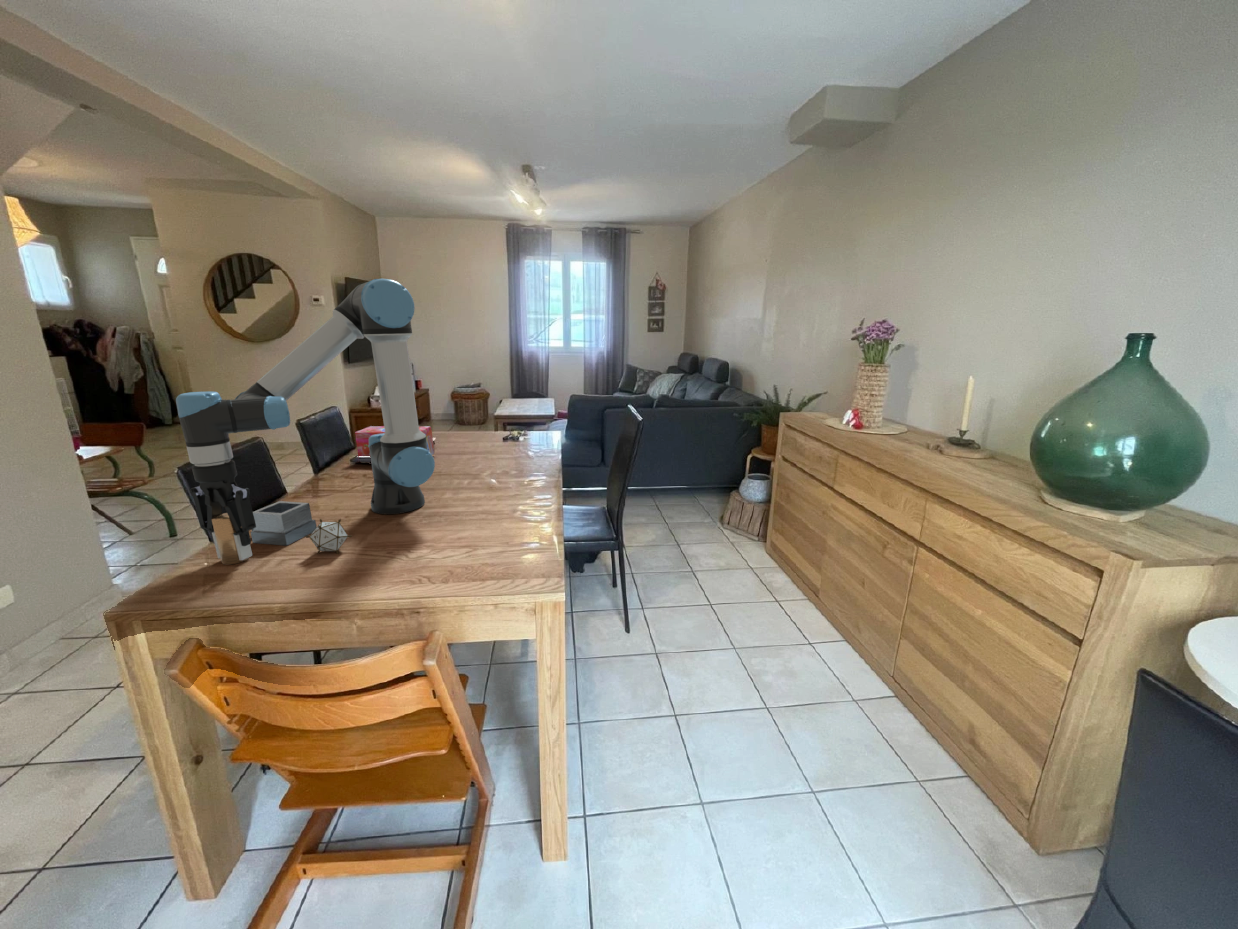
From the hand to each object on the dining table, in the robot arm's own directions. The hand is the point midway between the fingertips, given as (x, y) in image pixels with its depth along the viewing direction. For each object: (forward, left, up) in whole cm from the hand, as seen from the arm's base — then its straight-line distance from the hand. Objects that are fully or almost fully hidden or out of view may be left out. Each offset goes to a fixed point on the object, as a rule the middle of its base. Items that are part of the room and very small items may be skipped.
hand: (235, 556), depth 115 cm
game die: (-19, -8, -1) cm, 21 cm away
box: (+18, -91, -1) cm, 92 cm away
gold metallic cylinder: (0, 0, -1) cm, 1 cm away
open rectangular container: (+1, -14, -1) cm, 14 cm away
